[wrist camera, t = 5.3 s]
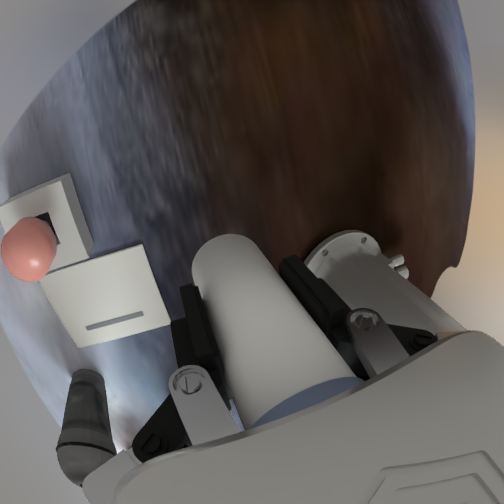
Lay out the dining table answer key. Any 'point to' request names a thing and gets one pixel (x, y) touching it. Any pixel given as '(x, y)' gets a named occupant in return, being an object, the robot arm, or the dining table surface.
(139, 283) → the paper
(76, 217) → the button box
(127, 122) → the dining table surface
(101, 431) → the beverage cup
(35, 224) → the button
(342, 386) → the marker
